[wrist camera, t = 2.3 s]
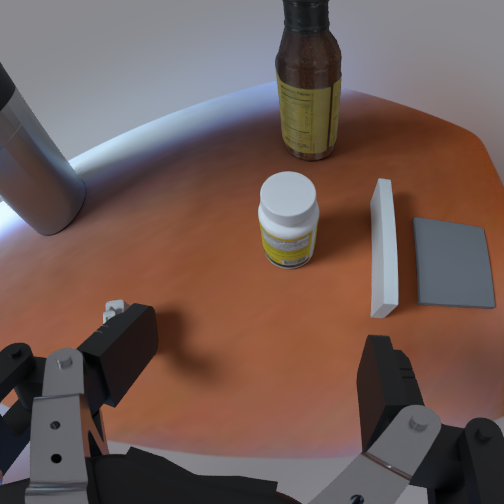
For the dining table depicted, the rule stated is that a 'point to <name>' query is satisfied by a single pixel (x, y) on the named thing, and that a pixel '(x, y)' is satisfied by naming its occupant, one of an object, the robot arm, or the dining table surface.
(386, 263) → the wall
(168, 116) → the dining table surface
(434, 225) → the coaster
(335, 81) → the sauce bottle
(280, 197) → the supplement bottle
